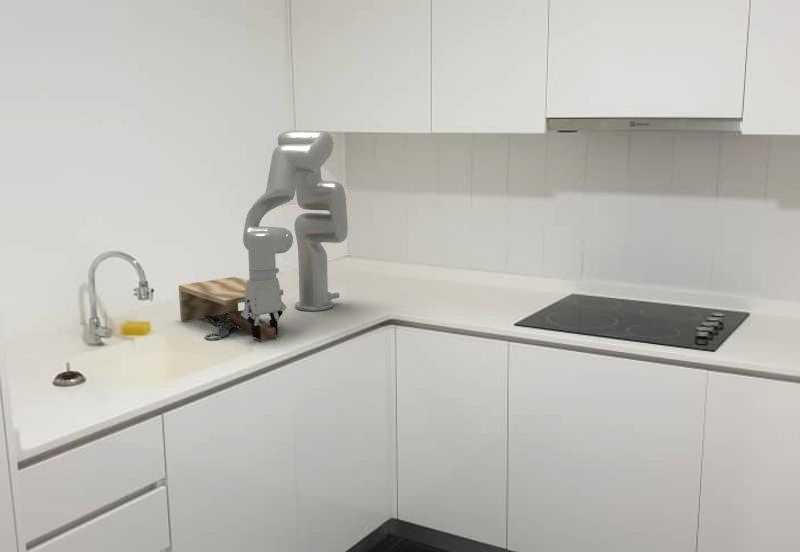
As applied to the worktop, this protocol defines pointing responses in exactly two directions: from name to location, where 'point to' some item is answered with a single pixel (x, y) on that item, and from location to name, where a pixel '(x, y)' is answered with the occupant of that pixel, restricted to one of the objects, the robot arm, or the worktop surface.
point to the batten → (265, 329)
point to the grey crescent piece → (221, 328)
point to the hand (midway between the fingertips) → (265, 335)
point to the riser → (211, 297)
